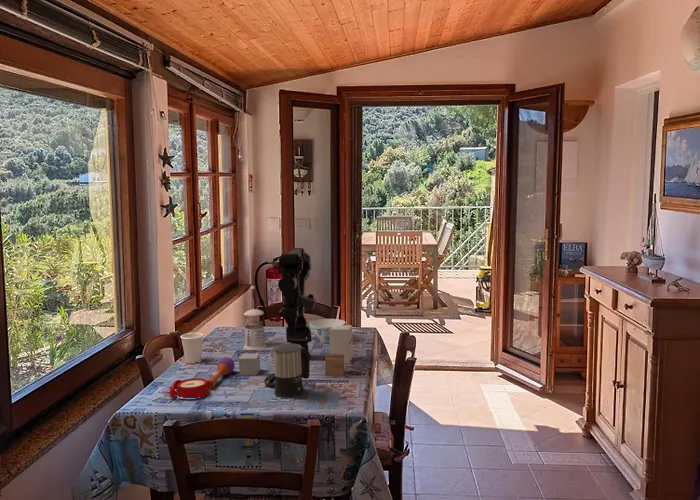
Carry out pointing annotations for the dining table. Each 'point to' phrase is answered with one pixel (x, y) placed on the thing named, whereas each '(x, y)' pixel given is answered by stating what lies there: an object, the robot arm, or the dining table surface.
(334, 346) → the supplement box
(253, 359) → the beige block
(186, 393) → the alarm clock
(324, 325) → the chinaware
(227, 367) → the kendama
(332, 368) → the walnut block
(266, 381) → the milk frother
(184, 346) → the dixie cup
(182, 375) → the dining table surface
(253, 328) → the french press
